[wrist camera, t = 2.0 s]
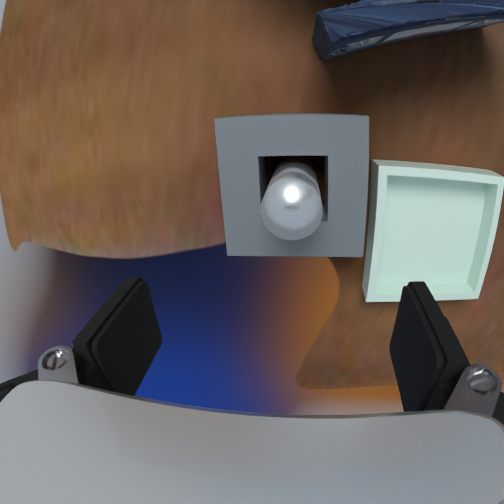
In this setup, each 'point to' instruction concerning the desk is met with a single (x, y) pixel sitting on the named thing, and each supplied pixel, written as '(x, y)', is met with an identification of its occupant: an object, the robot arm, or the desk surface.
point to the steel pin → (292, 200)
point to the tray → (429, 229)
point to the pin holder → (294, 144)
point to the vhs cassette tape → (397, 22)
